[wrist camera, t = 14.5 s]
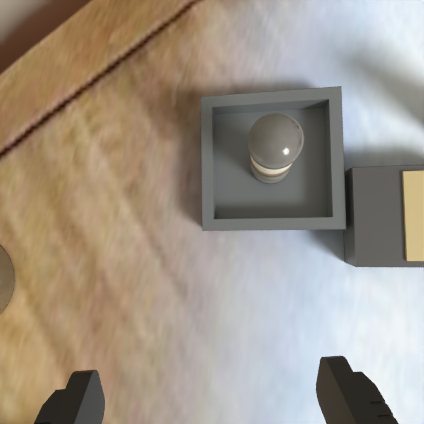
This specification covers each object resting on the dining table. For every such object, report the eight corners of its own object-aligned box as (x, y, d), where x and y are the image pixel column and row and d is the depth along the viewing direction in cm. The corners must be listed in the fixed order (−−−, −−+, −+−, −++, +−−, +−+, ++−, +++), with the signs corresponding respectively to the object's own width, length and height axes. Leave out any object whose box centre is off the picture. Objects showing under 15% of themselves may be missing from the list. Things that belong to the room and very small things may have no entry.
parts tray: (206, 230, 29) (202, 230, 26) (205, 107, 29) (200, 96, 27) (337, 228, 27) (346, 229, 24) (333, 98, 27) (341, 86, 25)
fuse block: (344, 262, 27) (356, 267, 24) (341, 173, 27) (353, 167, 24) (455, 262, 25) (484, 267, 22) (451, 169, 26) (478, 162, 23)
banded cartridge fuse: (250, 184, 28) (248, 168, 20) (249, 146, 28) (247, 114, 20) (290, 183, 27) (304, 165, 19) (289, 144, 27) (302, 110, 19)
